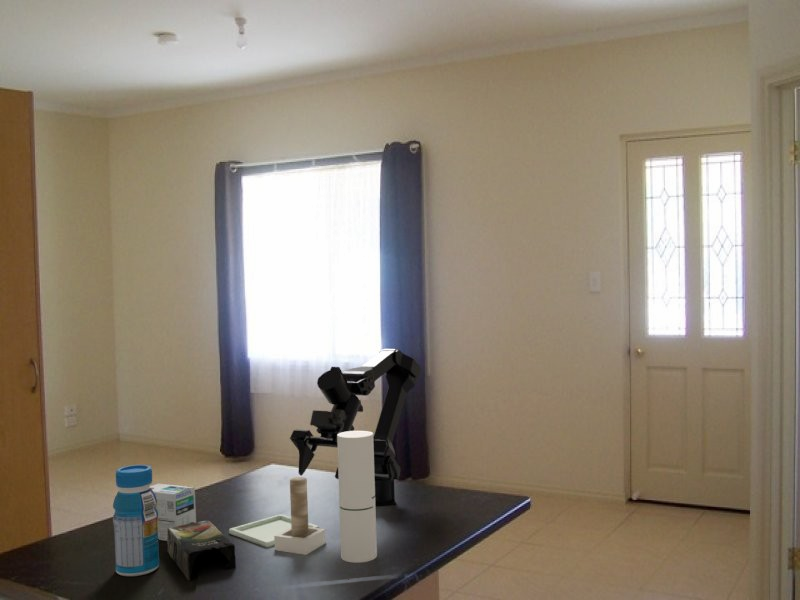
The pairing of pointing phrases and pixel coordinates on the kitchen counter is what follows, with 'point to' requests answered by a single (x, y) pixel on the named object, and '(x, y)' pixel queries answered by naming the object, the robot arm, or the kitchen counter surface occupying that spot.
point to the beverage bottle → (135, 522)
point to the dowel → (299, 507)
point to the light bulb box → (174, 507)
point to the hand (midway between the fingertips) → (317, 476)
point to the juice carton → (197, 544)
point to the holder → (300, 541)
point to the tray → (264, 529)
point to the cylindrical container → (357, 496)
